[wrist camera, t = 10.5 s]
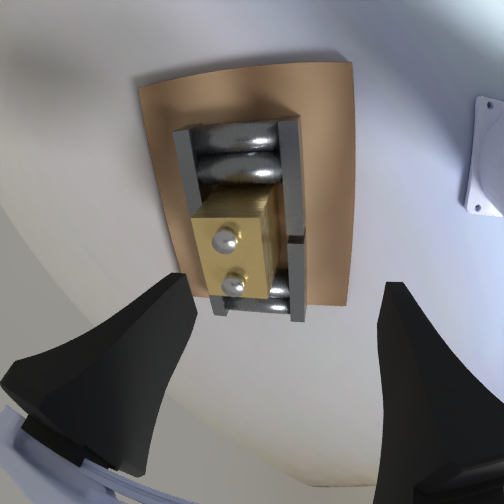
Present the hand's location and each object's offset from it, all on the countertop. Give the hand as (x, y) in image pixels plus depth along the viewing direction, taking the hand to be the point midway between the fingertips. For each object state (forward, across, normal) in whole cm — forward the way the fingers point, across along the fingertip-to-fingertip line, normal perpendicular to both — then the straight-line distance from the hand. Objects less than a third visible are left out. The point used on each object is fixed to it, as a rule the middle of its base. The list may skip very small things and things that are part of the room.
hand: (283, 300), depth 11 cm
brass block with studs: (+9, +3, +2) cm, 10 cm away
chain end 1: (+9, +3, -2) cm, 10 cm away
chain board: (+10, +3, 0) cm, 11 cm away
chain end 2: (+9, +3, +6) cm, 11 cm away
